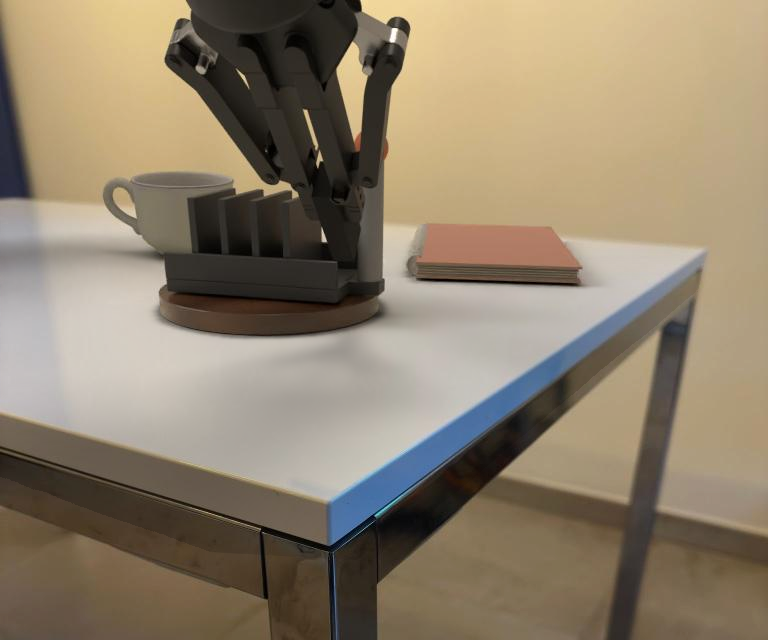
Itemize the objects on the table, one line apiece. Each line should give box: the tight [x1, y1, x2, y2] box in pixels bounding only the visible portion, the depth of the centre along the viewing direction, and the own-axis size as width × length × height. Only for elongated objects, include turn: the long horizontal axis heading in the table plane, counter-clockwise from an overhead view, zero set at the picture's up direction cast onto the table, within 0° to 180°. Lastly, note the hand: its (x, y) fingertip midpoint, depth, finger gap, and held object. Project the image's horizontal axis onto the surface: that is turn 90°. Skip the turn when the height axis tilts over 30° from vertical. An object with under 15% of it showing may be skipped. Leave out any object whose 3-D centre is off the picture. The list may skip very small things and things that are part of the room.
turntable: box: [158, 283, 380, 336], centre depth 65 cm, size 18×18×2 cm
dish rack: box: [162, 131, 389, 303], centre depth 61 cm, size 17×9×12 cm, turn 77°
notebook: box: [405, 222, 583, 284], centre depth 87 cm, size 27×17×2 cm, turn 175°
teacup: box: [102, 170, 235, 255], centre depth 85 cm, size 14×11×8 cm
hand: (347, 244), depth 55 cm, fingers closed
